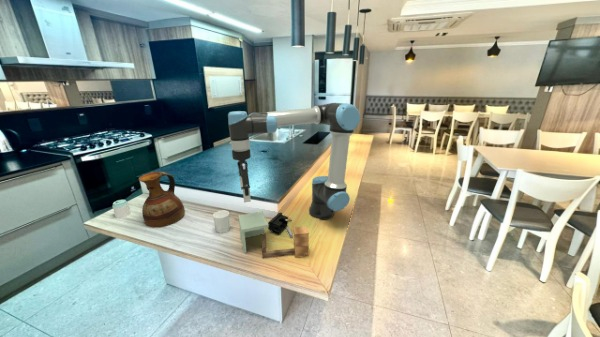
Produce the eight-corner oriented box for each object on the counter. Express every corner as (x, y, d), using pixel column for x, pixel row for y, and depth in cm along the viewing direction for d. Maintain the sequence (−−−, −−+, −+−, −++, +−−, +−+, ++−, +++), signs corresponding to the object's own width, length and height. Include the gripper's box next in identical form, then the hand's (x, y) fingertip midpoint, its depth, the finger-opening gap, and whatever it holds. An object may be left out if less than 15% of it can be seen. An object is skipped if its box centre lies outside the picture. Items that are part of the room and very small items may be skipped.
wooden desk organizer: (303, 239, 114) (303, 218, 110) (308, 256, 102) (308, 232, 98) (262, 243, 111) (261, 221, 107) (262, 261, 99) (261, 237, 96)
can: (117, 225, 127) (111, 205, 124) (116, 220, 133) (111, 201, 129) (132, 220, 132) (127, 202, 128) (131, 216, 137) (126, 197, 133)
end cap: (277, 221, 128) (277, 210, 125) (288, 225, 125) (288, 214, 122) (266, 231, 120) (266, 220, 117) (278, 235, 117) (278, 225, 114)
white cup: (225, 225, 127) (223, 208, 124) (234, 230, 122) (232, 213, 119) (212, 231, 121) (210, 214, 118) (220, 236, 116) (218, 219, 113)
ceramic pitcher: (138, 226, 127) (124, 175, 117) (172, 210, 143) (162, 164, 134) (159, 235, 118) (147, 181, 108) (193, 217, 135) (184, 169, 125)
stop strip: (288, 230, 121) (288, 227, 121) (292, 237, 115) (292, 234, 115) (286, 230, 121) (286, 227, 120) (290, 238, 115) (290, 234, 114)
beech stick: (290, 221, 132) (290, 218, 131) (291, 222, 131) (291, 219, 130) (267, 227, 126) (267, 224, 125) (268, 229, 124) (268, 225, 124)
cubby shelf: (264, 232, 120) (262, 211, 116) (269, 247, 108) (268, 224, 104) (240, 237, 116) (238, 215, 112) (243, 253, 104) (241, 229, 100)
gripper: (230, 144, 106) (234, 186, 113) (233, 157, 84) (239, 209, 91) (246, 142, 109) (250, 184, 115) (254, 155, 86) (258, 206, 93)
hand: (245, 195), depth 103 cm, fingers open, 13 cm apart
